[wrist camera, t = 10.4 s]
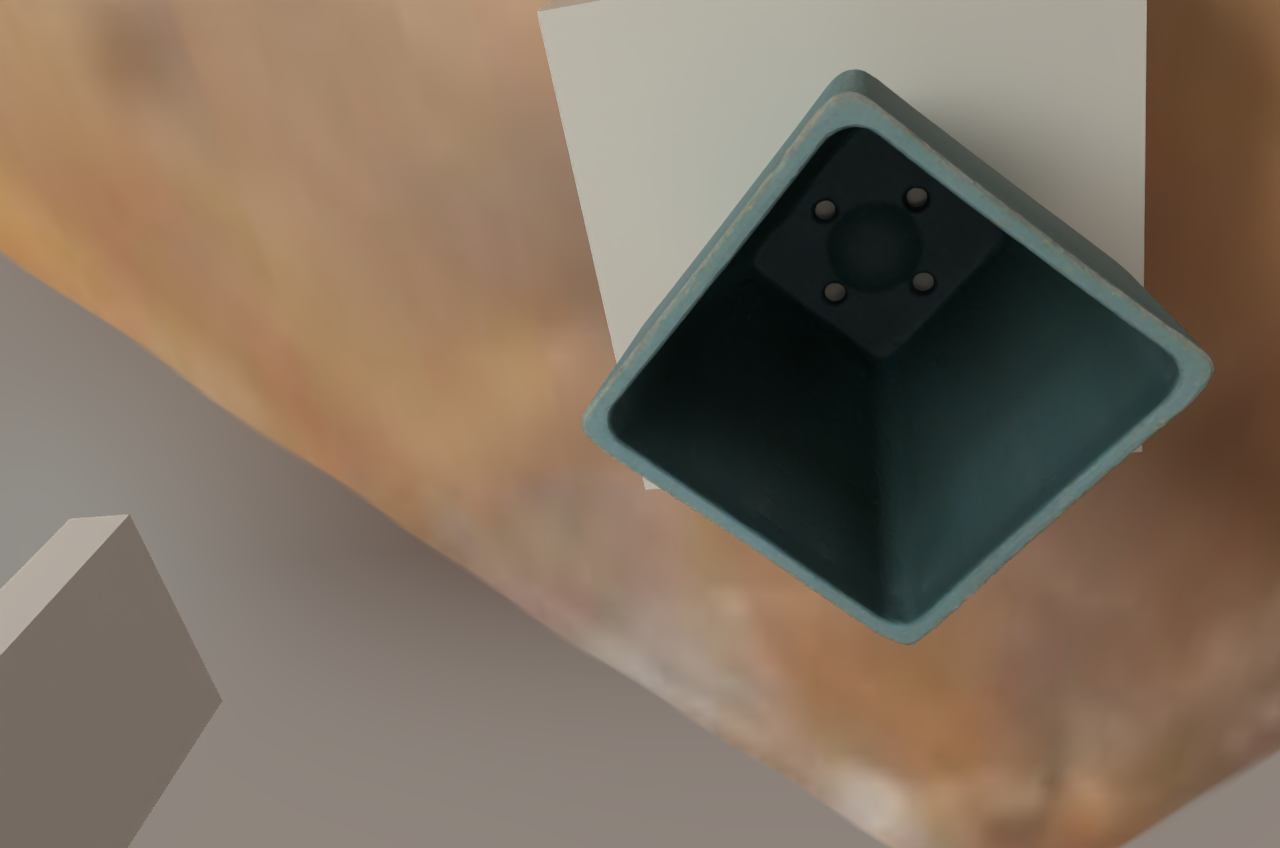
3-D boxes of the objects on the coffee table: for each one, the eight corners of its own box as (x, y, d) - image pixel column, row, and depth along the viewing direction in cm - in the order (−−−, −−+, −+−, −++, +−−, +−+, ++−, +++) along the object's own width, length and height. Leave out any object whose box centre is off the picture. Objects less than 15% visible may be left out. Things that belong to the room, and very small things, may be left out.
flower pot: (848, -13, 27) (841, 79, 19) (1132, 206, 28) (1232, 374, 21) (641, 266, 31) (568, 432, 24) (896, 445, 33) (906, 656, 25)
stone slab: (586, -28, 34) (537, 12, 28) (1099, -125, 30) (1147, -100, 25) (673, 395, 40) (645, 489, 35) (1103, 354, 37) (1141, 451, 32)
